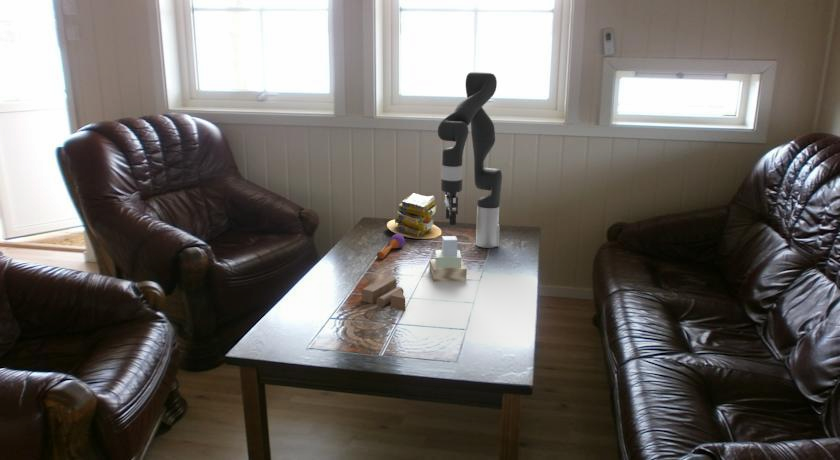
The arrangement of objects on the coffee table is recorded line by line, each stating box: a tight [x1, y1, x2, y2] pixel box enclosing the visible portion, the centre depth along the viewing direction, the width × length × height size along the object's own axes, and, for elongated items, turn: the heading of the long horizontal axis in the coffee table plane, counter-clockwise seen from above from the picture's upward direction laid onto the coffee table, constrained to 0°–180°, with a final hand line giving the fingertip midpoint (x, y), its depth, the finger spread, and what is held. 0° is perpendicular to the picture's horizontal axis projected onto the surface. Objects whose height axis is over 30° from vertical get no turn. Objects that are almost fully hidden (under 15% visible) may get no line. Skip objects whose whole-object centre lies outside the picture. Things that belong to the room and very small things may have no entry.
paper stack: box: [386, 192, 442, 240], centre depth 297 cm, size 25×25×17 cm
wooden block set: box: [361, 275, 406, 312], centre depth 221 cm, size 17×6×18 cm
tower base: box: [428, 258, 468, 282], centre depth 243 cm, size 12×12×5 cm
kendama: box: [376, 233, 406, 260], centre depth 269 cm, size 6×6×20 cm
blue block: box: [441, 235, 459, 256], centre depth 241 cm, size 5×5×6 cm
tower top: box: [434, 249, 462, 268], centre depth 242 cm, size 9×9×4 cm
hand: (450, 221), depth 238 cm, fingers open, 8 cm apart
